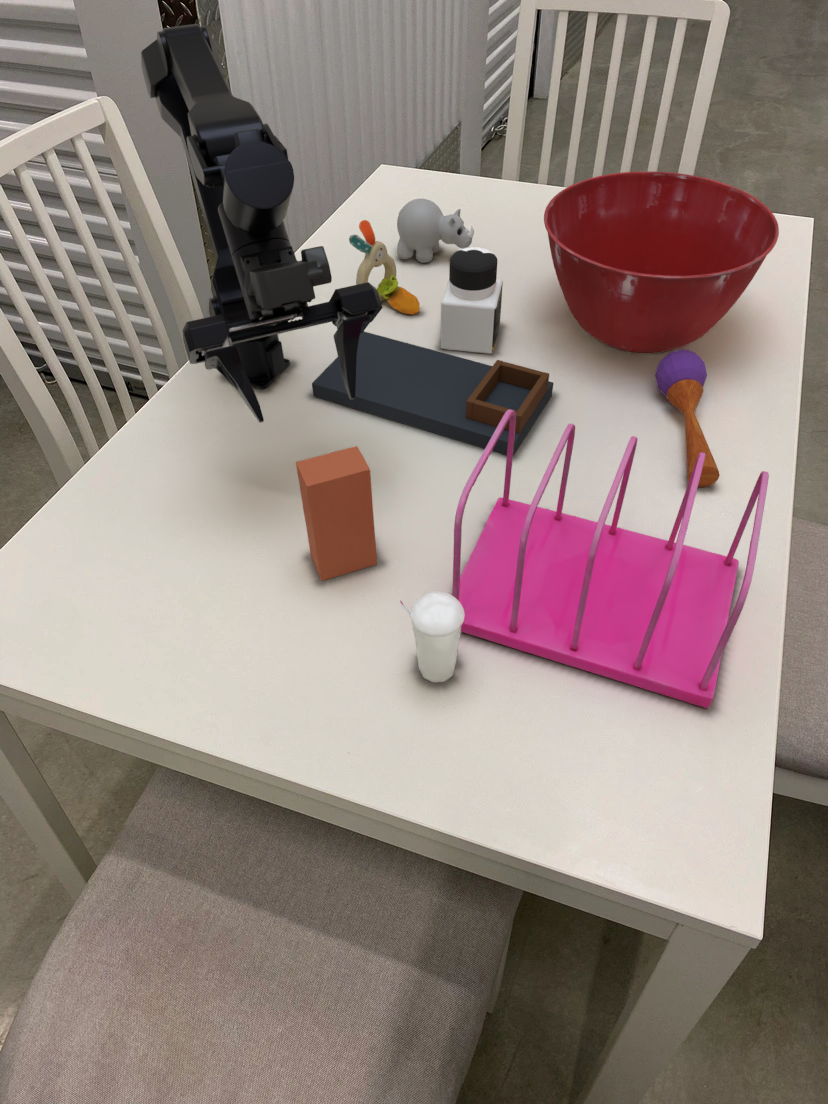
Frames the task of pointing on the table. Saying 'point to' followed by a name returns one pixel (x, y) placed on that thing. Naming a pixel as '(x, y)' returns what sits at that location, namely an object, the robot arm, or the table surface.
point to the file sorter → (602, 584)
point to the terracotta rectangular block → (338, 511)
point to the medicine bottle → (471, 302)
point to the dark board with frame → (439, 391)
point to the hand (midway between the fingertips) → (307, 410)
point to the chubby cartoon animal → (429, 230)
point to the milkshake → (436, 633)
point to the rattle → (389, 284)
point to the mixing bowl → (655, 255)
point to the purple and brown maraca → (688, 405)
